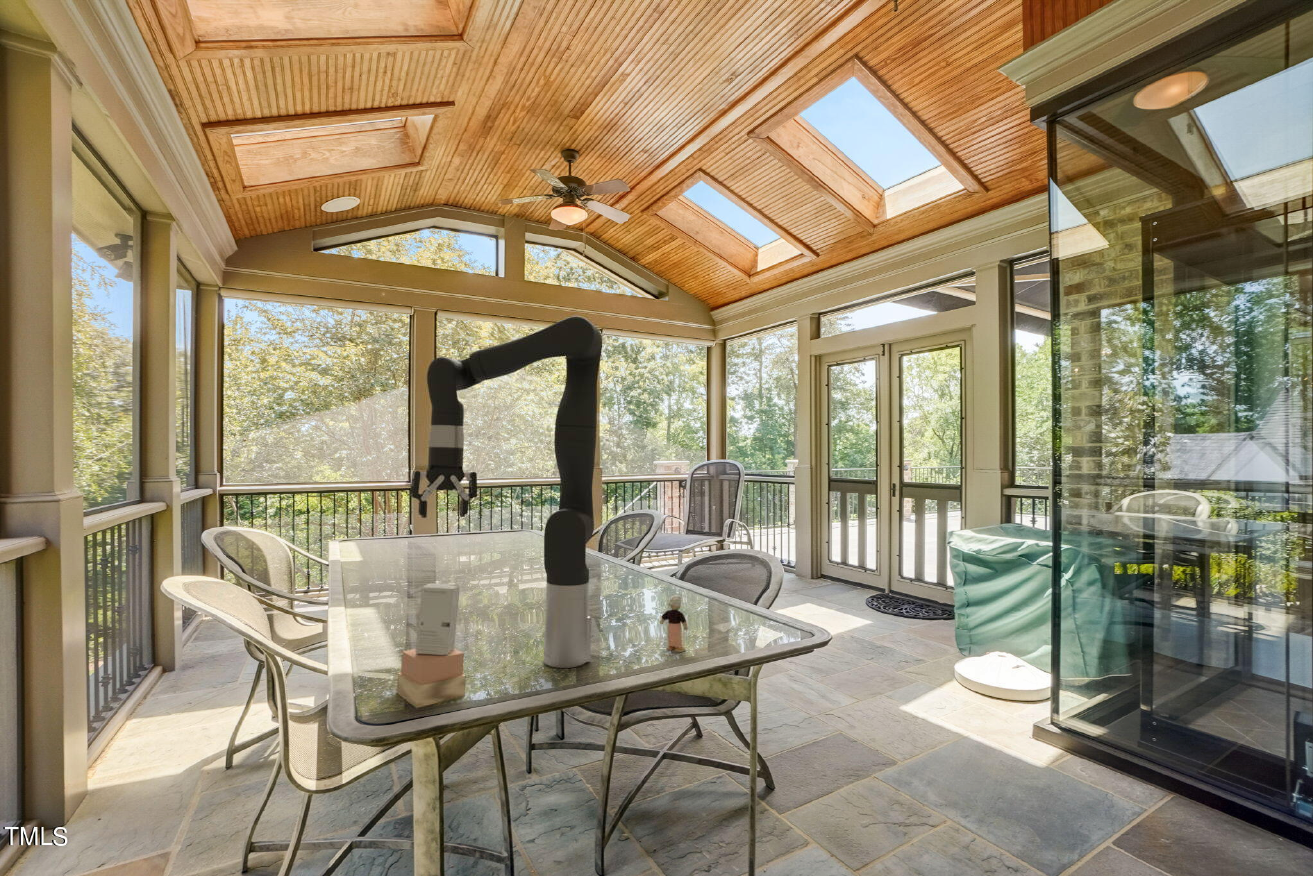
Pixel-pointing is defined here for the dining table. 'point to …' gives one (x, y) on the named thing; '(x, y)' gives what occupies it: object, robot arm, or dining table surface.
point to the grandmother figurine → (674, 624)
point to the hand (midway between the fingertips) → (443, 517)
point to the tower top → (431, 666)
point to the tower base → (430, 690)
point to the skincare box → (437, 619)
